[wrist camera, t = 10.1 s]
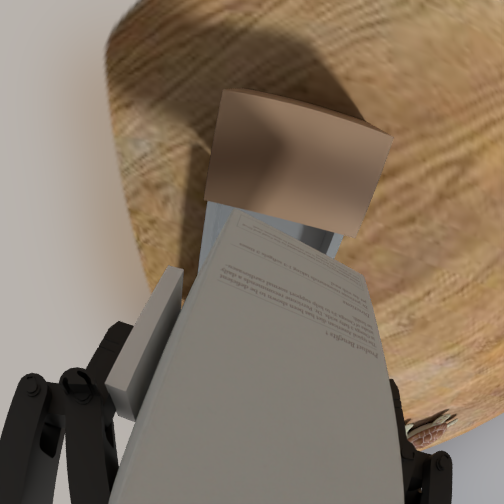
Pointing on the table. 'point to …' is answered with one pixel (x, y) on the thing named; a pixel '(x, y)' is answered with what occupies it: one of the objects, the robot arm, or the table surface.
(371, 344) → the supplement box
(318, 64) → the table surface
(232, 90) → the brown block
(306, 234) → the tray
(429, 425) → the decorative turtle
